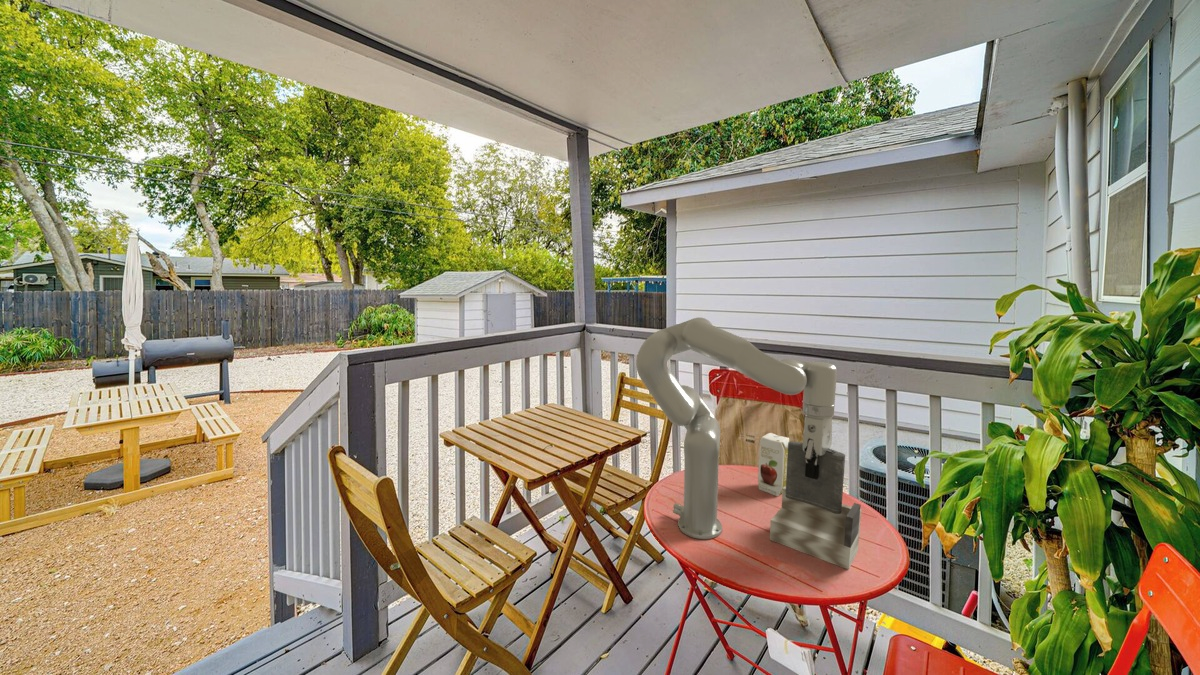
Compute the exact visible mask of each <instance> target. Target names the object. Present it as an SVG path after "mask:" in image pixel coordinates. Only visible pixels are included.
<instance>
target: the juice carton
mask: <svg viewBox="0 0 1200 675" xmlns="http://www.w3.org/2000/svg"><path fill="white" fill-rule="evenodd" d="M788 442H790V437H789V436H788V437H786V436H782V435H781V436H780V435H777V434H775V433H773V432H768V433H766V434H765V435H763V436H761V438H760V440H759V451H758V452H759V454H758V476H757V482H758V490H759V491H762V492H764V493H767V494H769V495H772V496H775V497H779V496H780V495H782V492H783V488H784V487H786V476H787V456H788Z"/></svg>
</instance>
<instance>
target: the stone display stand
mask: <svg viewBox="0 0 1200 675" xmlns="http://www.w3.org/2000/svg"><path fill="white" fill-rule="evenodd" d="M861 506H862V505H861V504H859V503H856V502H854V503H853V504H852V506H851V505H847V504H844V503H842V510H841V513H840V514H834V513H832V512H829V511H827V510H824V509H822V508H819V507H816V506H813V505H810V504H807V503H804V502H800V501H796V500H792V499H788V498H787V497H786V487H784V488H783V492H782V494H781V507H780V509H779V510H778V511H777V512H776V513H775V514H774V515H773V517H772V518H771V519H770V523H769V524H770V527H769V530H770V531H769V540H770V541H772V542H774V543H778V544H780V545H783V546H785V547H787V548H790V549H793V550H794V551H795V550H796V551H798V552H801V553H804V554H807V555H808V556H811V557H814V558H815V559H816V558H817V559H820V560H821V561H825V562H827V563H829V564H833V565H835V566H838V567H841V568H844V569H845V570H850V567H851V566H852V564H853V562H854V560H855V557H856V556H857V554H858V552H859V541H860V532H861V531H860V529H861V521H862V520H861V519H862V518H861V517H862V516H861V515H862V508H861Z"/></svg>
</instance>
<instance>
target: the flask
mask: <svg viewBox="0 0 1200 675" xmlns="http://www.w3.org/2000/svg"><path fill="white" fill-rule="evenodd" d="M789 441H790V440H789ZM813 452H814V453H816V452H815V451H813ZM805 456H806V453H805V452H804V451H803V442H800V441H792V440H791V441H790V442H788V456H787V476H786V497H787V498H788V499H792V500H796V501H800V502H804V503H807V504H810V505H813V506H816V507H819V508H822V509H824V510H827V511H829V512H832V513H834V514H840V513H841V510H842V504H843V494H844V481H845V480H844V479H845V464H846V454H845V453H843V452H840V451H837V450H834V449H833V448H832V449H831V448H828V449H827V450H826V453H825V454H824V455H823V456H819V458H818V465H819V476H818V479H817V480H816V479H812V478H809V477H806V476H805V468H806V459H805ZM812 456H813V457H814V458H815V456H814V455H812Z"/></svg>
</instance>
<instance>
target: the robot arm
mask: <svg viewBox="0 0 1200 675" xmlns="http://www.w3.org/2000/svg"><path fill="white" fill-rule="evenodd" d="M690 350H692V351H694V352H695V353H698V354H700V355H702V356H705V357H707V358H709V359H712V360H713V361H716V362H719V363H721V364H723V365H725V366H728V367H730V368H732V369H733V370H735V371H737V372H738V373H740V374H741V375H744V376H745V377H747V378H749V379H751V380H753V381H754V382H756V383H759V384H760V385H763V386H764V387H767V388H769V389H772V390H774V391H776V392H779V393H782V394H784V395H788V396H794V395H795V396H796V395H798V394H800V393H801V392H803V393H802V395H803V396H802V412H801V413H802V415H803V416H805V417H804V424H803V426H804V427H803V433H802V443H803V451H804V452H805V453H806V456H805V459H806V468H805V476H806V477H809V478H812V479H816V480H817V479H818V476H819V465H818V458H819V456H823V455H824V454H825V453H826V450H827V449H828V448H829V449H831V447H832V442H833V441H832V440H833V439H832V438H833V437H832V435H833V434H832V432H833V430H832V429H833V421H832V420H833V418H834V416H835V406H836V405H835V402H836V389H837V374H838V369H837V367H836V366H835V365H834V364H833V363H830V362H826V361H803V360H798V359H797V360H796V359H793V358H792V359H791V358H784V359H781V360H779V359H778V358H775V357H773V356H771V355H769V354H767V353H765V352H764V351H762V350H760V349H759V348H757V347H756V346H755V345H754V344H752V343H751V342H750V341H749V340H747V339H746V338H744V337H741V336H739V335H736V334H734V333H731V332H730V331H726V330H724V329H722V328H720V327H717V326H715V325H713V324H712V323H711V321H709V320H708V319H707V318H705V317H695V318H692V319H688V320H686V321H684V322H683V321H682V322H680V323H677V324H674V325H672V326H669V327H665V328H662V329H659V330H657V331H655V332H654V333H652V334H651V335H650V336H649V337H647V338H646V339H645V340H644V341H643V343H642V345H641V347H640V348H639V350H638V352H637V356H636V360H635V361H636V362H635V365H636V366H635V368H636V372H637V374H638V376H639V378H640V380H641V381H642V382H641V383H643V384H644V386H645V387H646V389H647V390H648V391H649V393H650V394H651V396H652V398H653V400H655V402H656V403H657V405H658V407H660V409H661V410H662V412H663V413H664V415H665V416H666V418H667V420H668V421H669V422H670V423H671V424H673V425H675V426H677V427H684V428H685V430H686V433H685V436H684V441H683V442H684V443H683V456H684V460H683V462H684V470H683V472H684V477H683V478H684V480H683V481H684V482H683V484H684V485H683V488H684V489H683V505H682V504H680V503H677V502H675V503H674V504H673V507H672V508H673V509H672V513H673V514H675V515H678V516H679V517H678V520H677V525H678V526H679V527H678V529H679V528H680V529H679V530H680V532H682V533H683V534H684V535H686V536H687V537H691V538H694V539H698V540H709V539H710V540H711V539H714V538H716V537H718V536H719V535H721V533H722V532H723V524H722V522H721V521H720V520H719V519H718V498H719V497H718V496H719V495H718V494H719V493H718V491H719V489H718V488H719V463H720V461H719V458H720V457H719V455H720V442H721V426H720V423H719V421H718V419H717V418H716V416H715V415H714V413H713V412H712V411H711V410H710V408H709V407H708V405H707V404H706V403H705V401H704V399H703V398H702V397H701V395H700V394H699V393H698V392H697V391H696V390H695V388H692V387H690V386H688V385H684V384H683V385H682V384H681V382H679V380H678V379H677V377H676V376H675V375H674V373H673V372H672V371H671V370H670V369H669V367H668V365H667V363H668V361H669V360H670V359H671V358H672V356H674V355H677V354H681V353H683V352H686V351H690ZM813 451H815V452H816V453H814V452H813ZM812 455H814V456H815V458H814V457H813V456H812Z"/></svg>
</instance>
